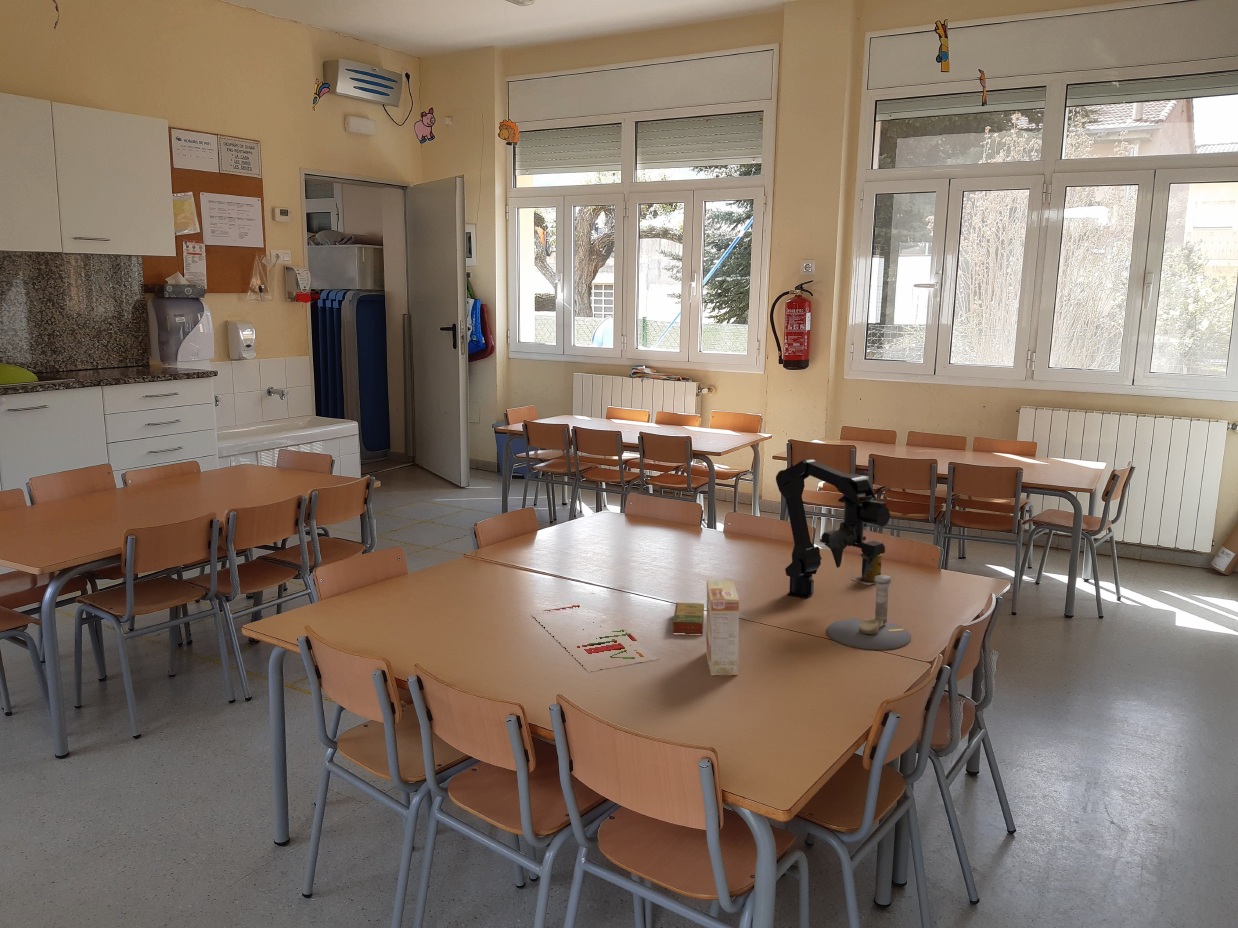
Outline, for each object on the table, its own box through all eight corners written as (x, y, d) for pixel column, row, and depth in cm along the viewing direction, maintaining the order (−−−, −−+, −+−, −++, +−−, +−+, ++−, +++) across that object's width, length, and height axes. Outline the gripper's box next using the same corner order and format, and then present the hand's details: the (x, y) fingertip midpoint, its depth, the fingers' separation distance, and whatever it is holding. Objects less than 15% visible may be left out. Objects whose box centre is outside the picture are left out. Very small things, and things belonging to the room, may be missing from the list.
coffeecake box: (705, 652, 231) (706, 579, 228) (732, 652, 231) (734, 580, 227) (709, 675, 216) (710, 599, 213) (738, 676, 216) (740, 599, 213)
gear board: (658, 652, 226) (588, 665, 219) (658, 661, 227) (588, 674, 219) (592, 599, 267) (531, 609, 259) (592, 607, 267) (531, 617, 260)
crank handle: (873, 635, 239) (875, 588, 236) (856, 631, 242) (857, 584, 240) (892, 622, 248) (894, 577, 246) (875, 618, 252) (877, 573, 249)
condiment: (886, 580, 289) (888, 545, 287) (868, 585, 285) (870, 549, 282) (868, 575, 295) (870, 540, 293) (851, 579, 291) (852, 544, 288)
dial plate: (816, 640, 238) (816, 637, 238) (839, 615, 257) (840, 613, 257) (900, 655, 228) (900, 653, 228) (918, 628, 246) (918, 626, 246)
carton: (704, 616, 258) (704, 602, 258) (702, 637, 243) (703, 622, 242) (675, 615, 259) (675, 601, 258) (672, 635, 244) (672, 620, 243)
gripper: (810, 517, 259) (807, 568, 262) (863, 530, 244) (859, 584, 247) (834, 511, 266) (832, 561, 269) (887, 524, 251) (884, 577, 254)
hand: (850, 571), depth 259 cm, fingers open, 9 cm apart
